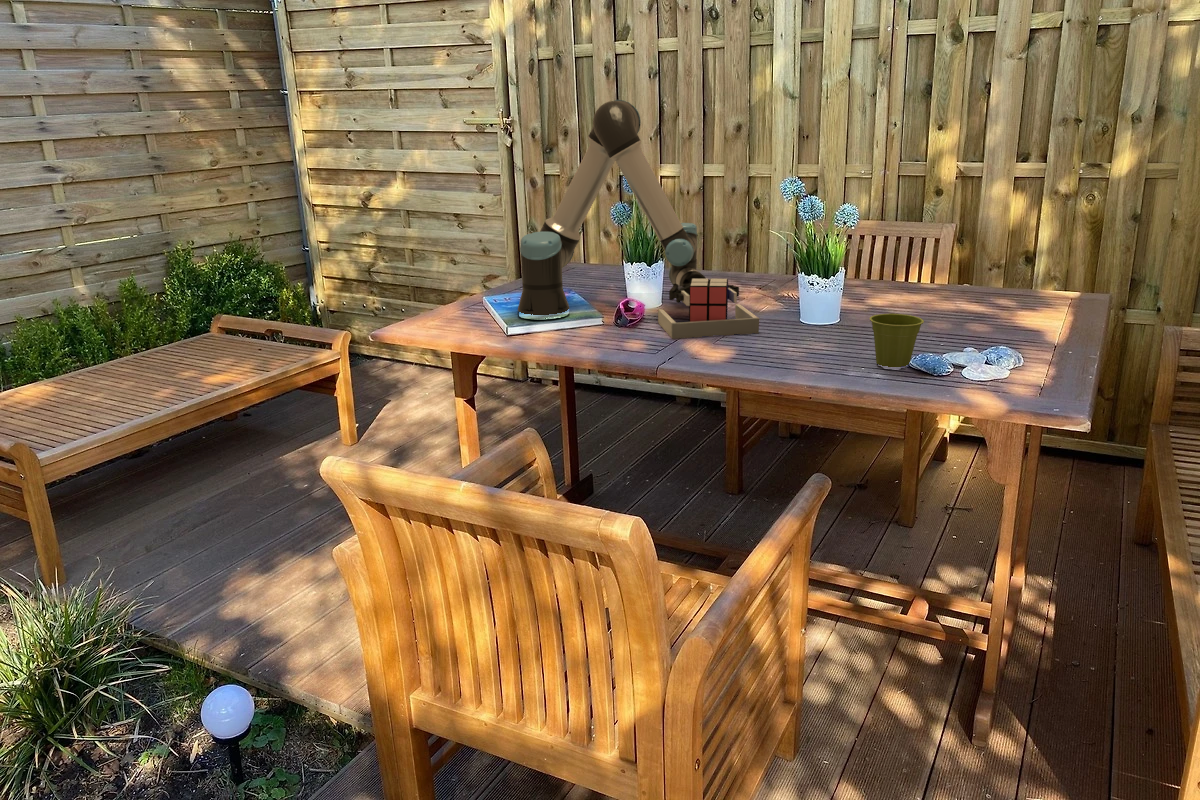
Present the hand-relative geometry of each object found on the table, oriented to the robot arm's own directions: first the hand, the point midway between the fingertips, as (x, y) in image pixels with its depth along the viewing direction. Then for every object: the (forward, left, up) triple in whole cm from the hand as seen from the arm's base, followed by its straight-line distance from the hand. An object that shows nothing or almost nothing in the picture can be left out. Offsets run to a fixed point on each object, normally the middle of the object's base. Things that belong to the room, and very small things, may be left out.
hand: (711, 299), depth 247 cm
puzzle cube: (-3, 0, -6) cm, 7 cm away
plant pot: (+41, +32, -9) cm, 53 cm away
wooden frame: (-5, 0, -9) cm, 10 cm away
